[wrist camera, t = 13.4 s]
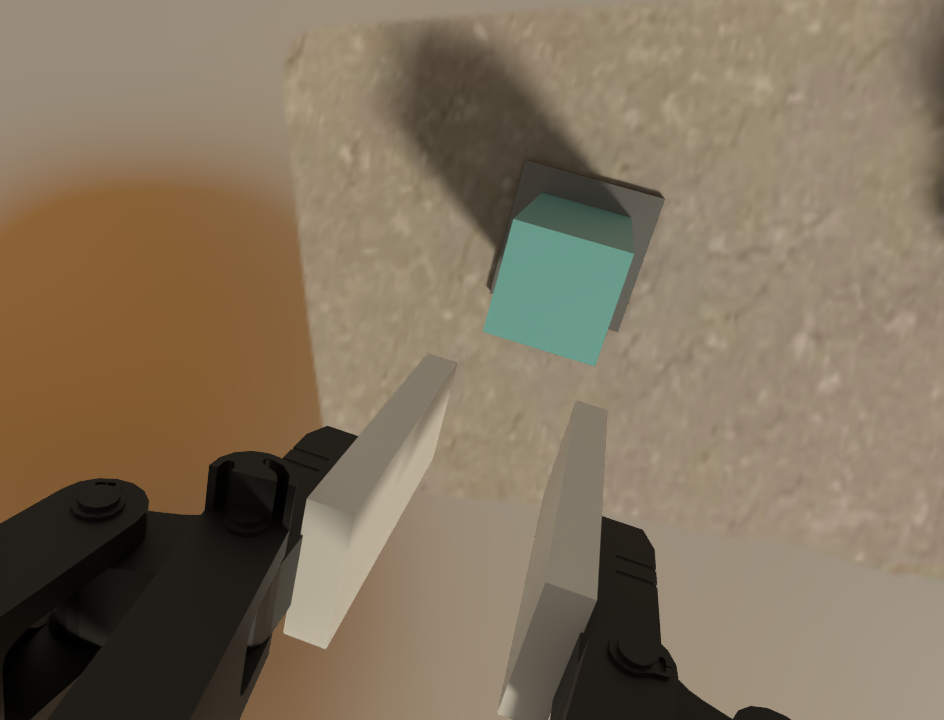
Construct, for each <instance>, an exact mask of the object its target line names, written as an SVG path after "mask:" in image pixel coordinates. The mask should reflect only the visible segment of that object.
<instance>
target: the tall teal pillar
mask: <svg viewBox="0 0 944 720" xmlns="http://www.w3.org/2000/svg"><path fill="white" fill-rule="evenodd" d="M633 256H634V244H633V231H632V218H630V217H627V216H623V215H620V214H616V213H612V212H609V211H605V210H602V209H598V208H595V207H591V206H588V205H584V204H581V203H577V202H574V201H570V200H567V199H563V198H560V197H556V196H553V195H549V194H545V193H541V194H540V195H539V196H538V197H537V198H536V199H535V200H533V201H532V202H531V203H530V204H529V205H528V206H527V207H526V208H525V209H524V210H522V211H521V212H520V213H519V214H518V215H517V216H516V217H515V218H514V219H513V222H512V226H511V229H510V233H509V237H508V240H507V244H506V248H505V252H504V255H503V259H502V263H501V266H500V270H499V274H498V278H497V281H496V285H495V289H494V292H493V296H492V300H491V304H490V307H489V311H488V315H487V318H486V322H485V326H484V330H483V332H486V333H489V334H492V335H495V336H498V337H502V338H505V339H508V340H511V341H515V342H518V343H521V344H524V345H527V346H531V347H534V348H537V349H540V350H544V351H547V352H550V353H553V354H556V355H560V356H563V357H566V358H569V359H573V360H576V361H579V362H582V363H585V364H589V365H592V366H595V365H596V362H597V359H598V356H599V353H600V351H601V348H602V345H603V342H604V339H605V336H606V333H607V331H608V328H609V325H610V322H611V319H612V316H613V313H614V310H615V308H616V305H617V302H618V299H619V296H620V293H621V290H622V288H623V285H624V282H625V279H626V276H627V273H628V270H629V267H630V265H631V262H632V259H633Z"/></svg>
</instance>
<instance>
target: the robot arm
mask: <svg viewBox="0 0 944 720" xmlns="http://www.w3.org/2000/svg"><path fill="white" fill-rule="evenodd" d="M456 367H457V362H454V361H451V360H447V359H444V358H441V357H438V356H435V355H432V354H427V355H426V356H425V357H424V358H423V360H422V361H421V362H420V363H419V364H418V366H417V367H416V368H415V369H414V370H413V372H412V373H411V374H410V375H409V376H408V378H407V379H406V380H405V381H404V382H403V384H402V385H401V386H400V387H399V388H398V390H397V391H396V392H395V393H394V394H393V396H392V397H391V398H390V399H389V400H388V402H387V403H386V404H385V405H384V406H383V408H382V409H381V410H380V411H379V412H378V414H377V415H376V416H375V417H374V418H373V420H372V421H371V422H370V423H369V424H368V426H367V427H366V428H365V429H364V430H363V432H362V433H361V434H360V435H359V436H356V435H353V434H350V433H347V432H344V431H341V430H338V429H335V428H332V427H329V426H326V427H323V428H321V429H318V430H316V431H313V432H311V433H308V434H306V435H305V436H304V437H303V438H302V439H301V440H300V441H299V442H298V443H297V444H296V445H295V446H294V448H293V450H290V451H289V452H288V453H287V454H286V456H284V457H283V459H282V458H280V457H277V456H274V455H272V454H269V453H263V452H255V451H246V452H234V453H232V454H228V455H225V456H222V457H220V458H218V459H217V460H216V461H214V462H213V463H212V464H210V465H209V473H208V483H207V493H206V503H205V510H204V512H203V513H202V514H201V515H180V514H170V513H162V512H153V511H148V507H149V500H148V498H147V496H146V494H145V492H144V490H142V489H141V488H139V487H138V486H136V485H135V484H133V483H130V482H126V481H122V480H119V479H103V478H98V479H92V480H86V481H80V482H77V483H75V484H73V485H70V486H67V487H65V488H63V489H61V490H59V491H57V492H55V493H54V494H52V495H50V496H48V497H47V498H45V499H43V500H41V501H40V502H38V503H36V504H34V505H32V506H31V507H29V508H27V509H25V510H24V511H22V512H20V513H18V514H17V515H15V516H13V517H11V518H9V519H8V520H6V521H4V522H2V523H1V524H0V720H239V719H240V717H241V715H242V713H243V711H244V708H245V706H246V704H247V702H248V699H249V697H250V695H251V693H252V690H253V688H254V686H255V683H256V681H257V679H258V677H259V675H260V672H261V670H262V668H263V666H264V664H265V661H266V659H267V657H268V654H269V649H270V644H271V638H272V632H273V630H274V629H275V628H276V626H277V625H278V623H279V622H280V620H281V619H282V617H283V616H284V614H285V613H286V611H287V615H286V620H285V626H284V632H283V633H284V634H286V635H289V636H292V637H294V638H297V639H300V640H302V641H305V642H308V643H310V644H313V645H316V646H319V647H321V648H324V649H326V648H327V646H328V645H329V643H330V641H331V639H332V637H333V636H334V634H335V632H336V630H337V629H338V627H339V625H340V623H341V621H342V620H343V618H344V616H345V614H346V612H347V611H348V609H349V607H350V605H351V604H352V602H353V600H354V598H355V596H356V595H357V593H358V591H359V589H360V587H361V586H362V584H363V582H364V580H365V578H366V577H367V575H368V573H369V571H370V569H371V568H372V566H373V564H374V563H375V561H376V559H377V557H378V555H379V554H380V552H381V550H382V548H383V546H384V545H385V543H386V541H387V539H388V537H389V536H390V534H391V532H392V530H393V529H394V527H395V525H396V523H397V521H398V520H399V518H400V516H401V514H402V513H403V511H404V509H405V507H406V505H407V504H408V502H409V500H410V498H411V497H412V495H413V493H414V491H415V489H416V488H417V486H418V484H419V482H420V480H421V479H422V477H423V475H424V473H425V472H426V470H427V468H428V466H429V464H430V463H431V461H432V459H433V456H434V452H435V449H436V445H437V441H438V437H439V433H440V429H441V425H442V421H443V417H444V414H445V410H446V406H447V402H448V398H449V394H450V390H451V386H452V383H453V379H454V375H455V371H456ZM607 413H608V410H605V409H602V408H599V407H596V406H592V405H589V404H586V403H583V402H580V401H577V400H576V402H575V405H574V408H573V411H572V414H571V417H570V420H569V423H568V426H567V429H566V431H565V434H564V437H563V440H562V443H561V446H560V449H559V452H558V455H557V458H556V461H555V463H554V466H553V469H552V472H551V475H550V478H549V481H548V484H547V487H546V490H545V493H544V496H543V500H542V505H541V510H540V514H539V519H538V524H537V528H536V533H535V538H534V543H533V548H532V552H531V557H530V561H529V566H528V571H527V576H526V580H525V585H524V590H523V595H522V600H521V604H520V609H519V614H518V618H517V622H516V627H515V633H514V637H513V641H512V646H511V651H510V655H509V660H508V665H507V669H506V675H505V679H504V684H503V688H502V693H501V698H500V702H499V708H498V712H497V714H500V715H502V716H505V717H507V718H510V719H513V720H548V718H549V715H550V713H551V718H550V720H791V719H789V718H788V717H786V716H784V715H782V714H780V713H777V712H775V711H773V710H771V709H768V708H762V707H754V706H749V707H747V708H744V709H741V710H739V711H738V712H737V713H736V715H735V717H734V718H733V719H731V718H730V717H728V716H727V715H725V714H724V713H722V712H720V711H719V710H717V709H716V708H714V707H712V706H711V705H709V704H708V703H706V702H705V701H703V700H701V699H700V698H699V697H697V696H696V695H695V694H693V693H692V692H691V691H689V690H688V689H687V688H686V687H685V686H684V685H683V684H682V683H681V682H680V681H679V680H678V673H677V667H676V664H675V662H674V661H673V659H672V657H671V655H670V653H669V652H668V650H667V649H666V648H665V647H664V646H663V645H662V644H661V635H660V620H659V607H658V591H657V588H656V585H657V577H656V572H655V569H656V563H655V550H654V548H653V546H652V545H651V543H650V541H649V540H648V538H647V536H646V534H645V533H644V531H643V530H642V529H639V528H636V527H633V526H630V525H627V524H624V523H621V522H618V521H615V520H612V519H609V518H606V517H603V516H602V503H603V485H604V467H605V449H606V431H607Z"/></svg>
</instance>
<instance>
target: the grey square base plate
mask: <svg viewBox="0 0 944 720" xmlns="http://www.w3.org/2000/svg"><path fill="white" fill-rule="evenodd" d="M541 193H545V194H549V195H553V196H556V197H560V198H563V199H567V200H570V201H574V202H577V203H581V204H584V205H588V206H591V207H595V208H598V209H602V210H605V211H609V212H612V213H616V214H620V215H623V216H627V217H630V218H632V231H633V244H634V256H633V259H632V262H631V265H630V267H629V270H628V273H627V276H626V279H625V282H624V285H623V288H622V290H621V293H620V296H619V299H618V302H617V305H616V308H615V310H614V313H613V316H612V319H611V322H610V325H609V328H608V329H610V330H613V331H616V332H618V330H619V327H620V324H621V321H622V318H623V315H624V313H625V310H626V307H627V304H628V301H629V299H630V296H631V293H632V290H633V287H634V285H635V282H636V279H637V276H638V273H639V270H640V268H641V265H642V262H643V259H644V256H645V254H646V251H647V248H648V245H649V242H650V239H651V237H652V234H653V231H654V228H655V225H656V223H657V220H658V217H659V214H660V211H661V209H662V206H663V203H664V200H665V199H664V198H661V197H658V196H654V195H651V194H647V193H643V192H640V191H636V190H633V189H629V188H625V187H622V186H618V185H615V184H611V183H607V182H604V181H600V180H597V179H593V178H590V177H586V176H582V175H579V174H575V173H572V172H568V171H564V170H561V169H557V168H554V167H550V166H546V165H543V164H539V163H536V162H532V161H528V160H525V162H524V166H523V170H522V174H521V177H520V181H519V185H518V189H517V192H516V196H515V200H514V204H513V207H512V211H511V215H510V219H509V222H508V226H507V230H506V234H505V237H504V241H503V245H502V249H501V252H500V256H499V260H498V264H497V267H496V271H495V275H494V279H493V282H492V286H491V290H490V293H491V294H493V292H494V289H495V285H496V281H497V278H498V274H499V270H500V266H501V263H502V259H503V255H504V252H505V248H506V244H507V240H508V237H509V233H510V229H511V226H512V222H513V219H514V218H515V217H516V216H517V215H518V214H519V213H520V212H521V211H522V210H524V209H525V208H526V207H527V206H528V205H529V204H530V203H531V202H532V201H533V200H535V199H536V198H537V197H538V196H539V195H540V194H541Z"/></svg>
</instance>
